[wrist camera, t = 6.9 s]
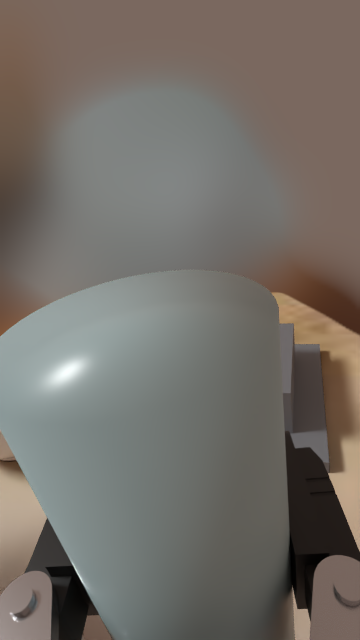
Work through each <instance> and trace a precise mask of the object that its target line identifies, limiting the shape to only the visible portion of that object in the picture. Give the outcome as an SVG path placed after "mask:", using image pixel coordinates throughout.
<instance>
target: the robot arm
mask: <svg viewBox="0 0 360 640" xmlns="http://www.w3.org/2000/svg"><path fill="white" fill-rule="evenodd" d="M285 449H286V469H287V489H288V509H289V530H290V550H291V570H292V586H293V590H294V595H295V599H296V604H297V608H298V609H308V613H309V617H310V621H311V627H310V640H360V551H359V549H358V547H357V544H356V542H355V540H354V537H353V535H352V532H351V530H350V527H349V525H348V522H347V520H346V517H345V515H344V512H343V510H342V507H341V505H340V502H339V500H338V497H337V495H336V494H335V490H334V487H333V485H332V483H331V480H330V479H329V475H328V473H327V470H326V468H325V465H324V463H323V460H322V459H321V458H320V457H319V456H318V455H317V454H316V453H315V452H314V451H313V450H312V449H311V448H310V447H304V448H295V447H294V444H293V440H292V437H291V435H290V432H289V431H285ZM87 615H99V613H98V611H97V610H96V608H95V606H94V604H93V602H92V600H91V598H90V596H89V595H88V593H87V591H86V589H85V587H84V585H83V583H82V581H81V580H80V578H79V576H78V574H77V572H76V570H75V568H74V567H73V565H72V563H71V561H70V559H69V557H68V555H67V553H66V552H65V550H64V548H63V546H62V544H61V542H60V540H59V539H58V537H57V535H56V533H55V531H54V529H53V527H52V525H51V524H50V522H49V520H48V518H47V520H46V522H45V525H44V527H43V530H42V532H41V535H40V537H39V540H38V542H37V545H36V547H35V550H34V552H33V555H32V557H31V560H30V562H29V565H28V567H27V569H26V571H25V573H24V574H23V575H21V576H19V577H18V578H16V579H15V580H14V581H13V582H11V583H10V584H9V585H8V586H7V587H6V589H5V590H4V591H3V593H2V594H1V596H0V640H85V638H84V635H83V630H84V626H85V622H86V617H87Z"/></svg>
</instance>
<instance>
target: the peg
mask: <svg viewBox="0 0 360 640" xmlns="http://www.w3.org/2000/svg"><path fill="white" fill-rule="evenodd" d="M0 430H1V432H2V434H3V436H4V438H5V440H6V441H7V443H8V445H9V447H10V449H11V451H12V453H13V454H14V456H15V458H16V460H17V462H18V464H19V466H20V468H21V469H22V471H23V473H24V475H25V477H26V479H27V481H28V482H29V484H30V486H31V488H32V490H33V492H34V494H35V496H36V497H37V499H38V501H39V503H40V505H41V507H42V509H43V511H44V512H45V514H46V516H47V518H48V520H49V522H50V524H51V525H52V527H53V529H54V531H55V533H56V535H57V537H58V539H59V540H60V542H61V544H62V546H63V548H64V550H65V552H66V553H67V555H68V557H69V559H70V561H71V563H72V565H73V567H74V568H75V570H76V572H77V574H78V576H79V578H80V580H81V581H82V583H83V585H84V587H85V589H86V591H87V593H88V595H89V596H90V598H91V600H92V602H93V604H94V606H95V608H96V610H97V611H98V613H99V615H100V617H101V619H102V621H103V623H104V624H105V626H106V628H107V630H108V632H109V634H110V636H111V638H112V639H113V640H295V631H294V611H293V590H292V570H291V550H290V530H289V509H288V489H287V469H286V449H285V428H284V408H283V388H282V368H281V347H280V327H279V307H278V304H277V302H276V299H275V298H274V296H273V295H272V294H271V292H270V291H269V290H267V289H266V288H265V287H264V286H262V285H260V284H259V283H257V282H255V281H253V280H251V279H249V278H246V277H243V276H240V275H236V274H232V273H226V272H219V271H210V270H174V271H162V272H154V273H147V274H141V275H136V276H131V277H126V278H122V279H118V280H114V281H111V282H106V283H103V284H100V285H96V286H94V287H90V288H87V289H84V290H82V291H79V292H76V293H74V294H71V295H68V296H66V297H64V298H61V299H59V300H57V301H55V302H53V303H51V304H49V305H47V306H45V307H43V308H41V309H39V310H37V311H36V312H34V313H32V314H30V315H29V316H27V317H25V318H24V319H23V320H21V321H19V322H18V323H17V324H15V325H14V326H13V327H11V328H10V329H8V330H7V331H6V332H5V333H4V334H3V335H2V336H0Z"/></svg>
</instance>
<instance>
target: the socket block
mask: <svg viewBox="0 0 360 640" xmlns="http://www.w3.org/2000/svg"><path fill="white" fill-rule="evenodd" d="M279 327H280V347H281V368H282V388H283V408H284V428H285V431H289V432H290V435H291V437H292V440H293V444H294V447H295V448H304V447H310V448H311V449H312V450H313V451H314V452H315V453H316V454H317V455H318V456H319V457H320V458H321V459H322V460H323V463H324V465H325V468H326V470H327V472H328V473H329V453H328V441H327V429H326V417H325V405H324V393H323V381H322V369H321V357H320V345H319V344H294V323H292V324H279Z"/></svg>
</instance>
